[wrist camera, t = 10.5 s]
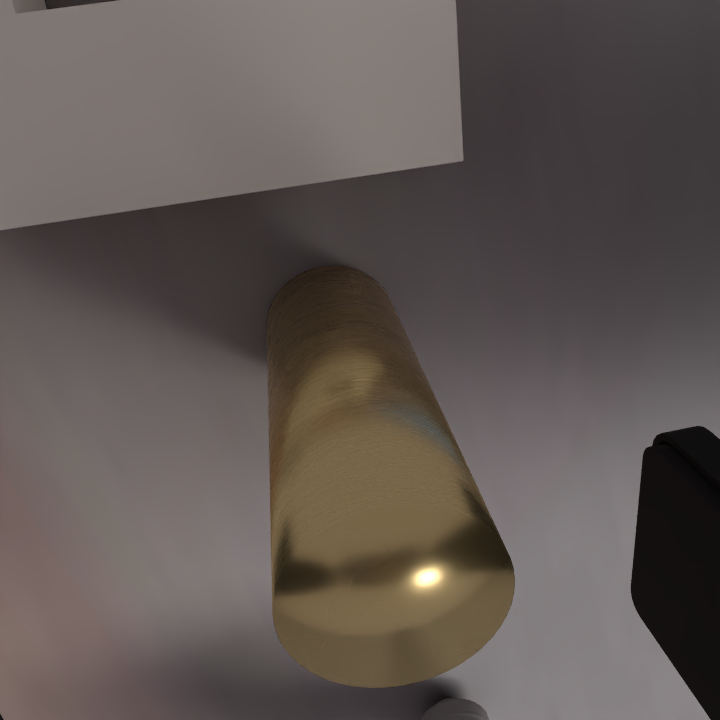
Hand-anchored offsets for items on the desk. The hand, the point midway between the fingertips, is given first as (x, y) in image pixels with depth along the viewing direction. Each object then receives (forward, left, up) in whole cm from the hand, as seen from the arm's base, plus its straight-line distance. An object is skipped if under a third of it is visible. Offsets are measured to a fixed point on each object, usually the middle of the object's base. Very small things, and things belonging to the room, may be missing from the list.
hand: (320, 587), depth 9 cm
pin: (-1, 0, -9) cm, 9 cm away
